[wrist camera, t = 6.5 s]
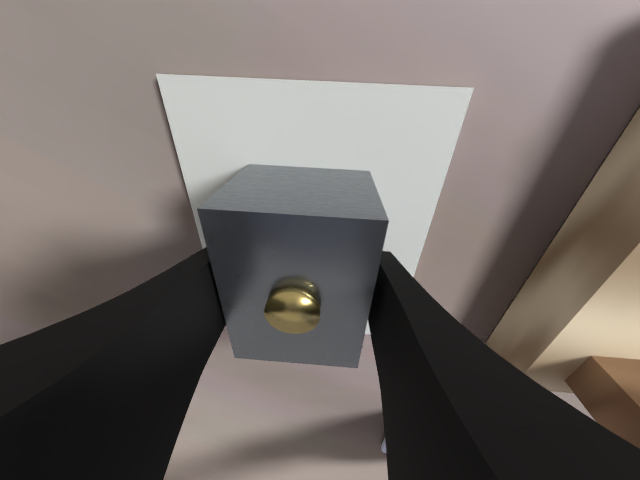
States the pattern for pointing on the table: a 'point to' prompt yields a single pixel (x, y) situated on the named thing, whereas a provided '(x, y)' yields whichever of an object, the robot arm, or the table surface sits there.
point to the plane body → (588, 299)
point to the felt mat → (321, 139)
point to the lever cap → (296, 261)
